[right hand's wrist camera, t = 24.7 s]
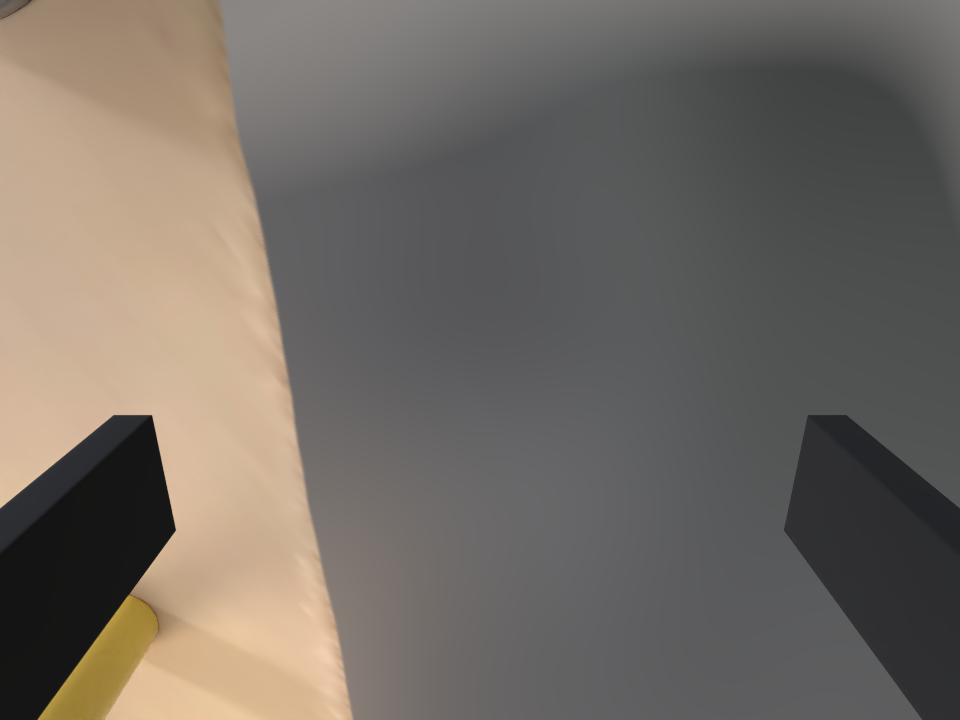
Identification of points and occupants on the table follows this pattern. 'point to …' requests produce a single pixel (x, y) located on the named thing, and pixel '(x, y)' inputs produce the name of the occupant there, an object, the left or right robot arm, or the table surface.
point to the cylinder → (106, 665)
